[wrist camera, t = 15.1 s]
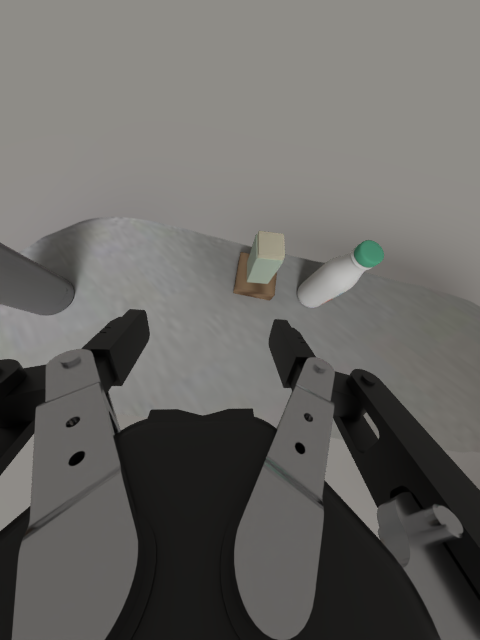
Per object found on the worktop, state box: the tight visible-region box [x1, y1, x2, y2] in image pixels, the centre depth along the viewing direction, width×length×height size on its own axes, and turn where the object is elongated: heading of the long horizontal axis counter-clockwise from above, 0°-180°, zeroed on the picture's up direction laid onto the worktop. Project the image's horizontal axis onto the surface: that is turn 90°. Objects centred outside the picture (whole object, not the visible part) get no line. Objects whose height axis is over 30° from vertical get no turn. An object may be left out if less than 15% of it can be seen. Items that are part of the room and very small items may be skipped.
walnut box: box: [233, 252, 277, 300], centre depth 45 cm, size 10×10×4 cm
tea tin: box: [247, 231, 285, 284], centre depth 38 cm, size 5×5×11 cm
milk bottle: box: [297, 240, 384, 308], centre depth 38 cm, size 8×8×20 cm
